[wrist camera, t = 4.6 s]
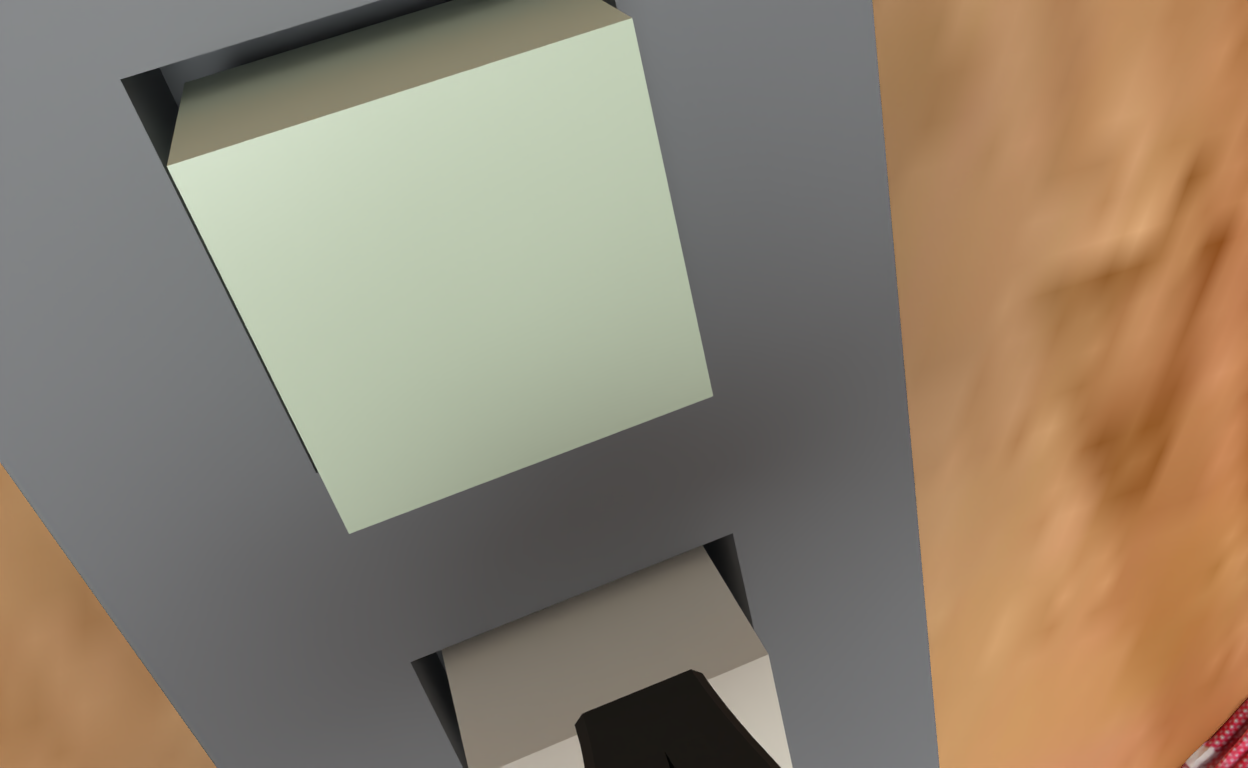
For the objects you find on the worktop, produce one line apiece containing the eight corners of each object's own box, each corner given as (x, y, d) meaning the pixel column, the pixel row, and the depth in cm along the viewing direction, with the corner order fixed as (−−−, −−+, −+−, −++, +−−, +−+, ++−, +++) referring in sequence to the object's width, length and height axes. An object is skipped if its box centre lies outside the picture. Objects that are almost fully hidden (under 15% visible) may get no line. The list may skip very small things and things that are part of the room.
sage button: (330, 396, 13) (348, 533, 11) (184, 82, 11) (167, 165, 9) (630, 289, 14) (712, 395, 12) (550, -30, 12) (631, 17, 9)
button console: (471, 1008, 25) (500, 1167, 22) (-151, 5, 12) (-277, 72, 9) (877, 823, 27) (955, 950, 24) (721, -244, 14) (849, -252, 11)
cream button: (512, 789, 18) (554, 947, 16) (435, 623, 16) (471, 779, 13) (732, 695, 19) (806, 834, 16) (689, 523, 16) (768, 654, 14)
